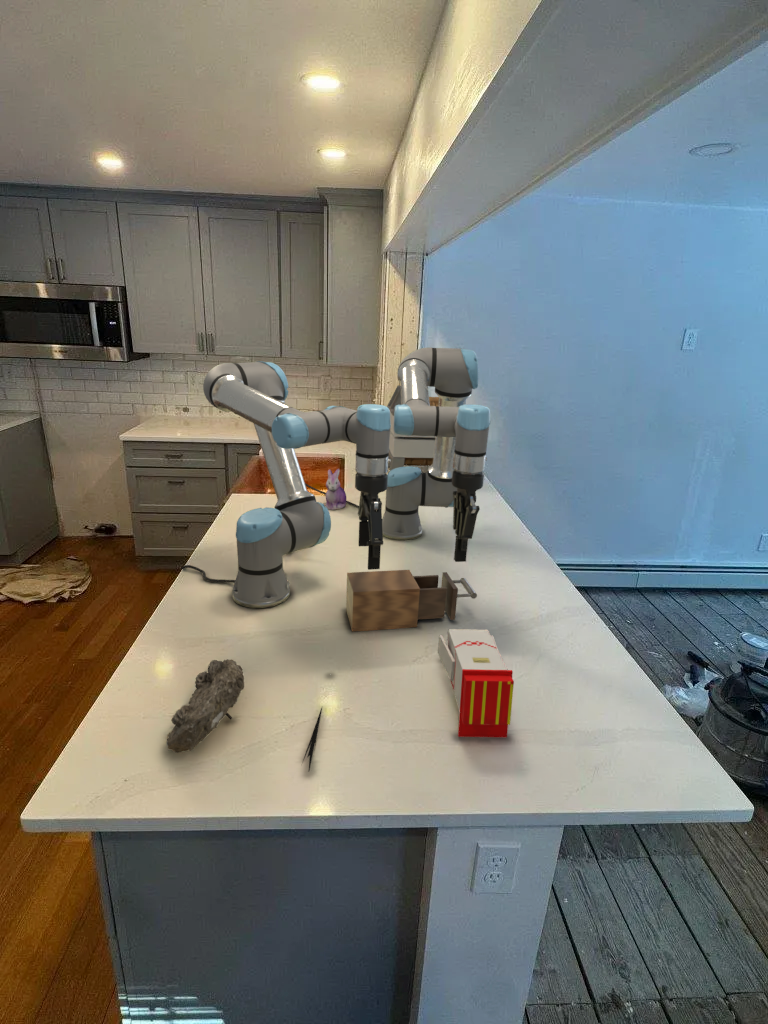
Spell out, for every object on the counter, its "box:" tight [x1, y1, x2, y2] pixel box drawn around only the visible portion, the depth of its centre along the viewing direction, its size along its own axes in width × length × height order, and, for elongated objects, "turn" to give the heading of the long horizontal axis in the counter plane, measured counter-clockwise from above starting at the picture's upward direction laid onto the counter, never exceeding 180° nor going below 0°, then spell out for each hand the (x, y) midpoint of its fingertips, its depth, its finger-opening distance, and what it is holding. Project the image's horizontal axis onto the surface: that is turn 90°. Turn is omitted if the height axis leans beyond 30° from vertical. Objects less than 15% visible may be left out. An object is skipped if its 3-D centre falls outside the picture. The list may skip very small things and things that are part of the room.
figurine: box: [325, 468, 347, 510], centre depth 222 cm, size 9×10×15 cm
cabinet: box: [345, 569, 420, 633], centre depth 143 cm, size 16×11×11 cm, turn 102°
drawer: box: [413, 571, 478, 621], centre depth 146 cm, size 21×9×9 cm, turn 102°
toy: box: [437, 628, 515, 738], centre depth 117 cm, size 12×13×30 cm
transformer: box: [386, 384, 439, 472], centre depth 268 cm, size 34×33×41 cm
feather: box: [301, 673, 332, 771], centre depth 108 cm, size 2×28×2 cm
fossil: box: [166, 658, 245, 754], centre depth 106 cm, size 22×10×15 cm
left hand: (368, 556), depth 138 cm, fingers open, 13 cm apart
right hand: (459, 560), depth 144 cm, fingers closed
